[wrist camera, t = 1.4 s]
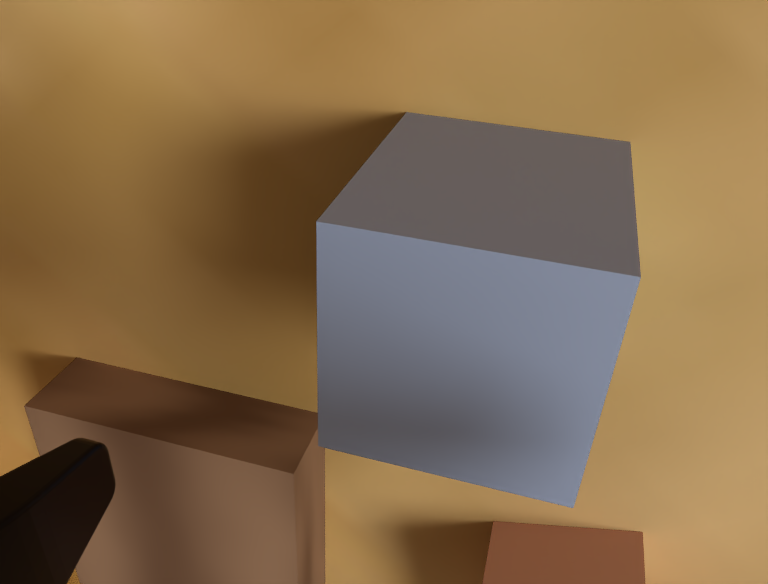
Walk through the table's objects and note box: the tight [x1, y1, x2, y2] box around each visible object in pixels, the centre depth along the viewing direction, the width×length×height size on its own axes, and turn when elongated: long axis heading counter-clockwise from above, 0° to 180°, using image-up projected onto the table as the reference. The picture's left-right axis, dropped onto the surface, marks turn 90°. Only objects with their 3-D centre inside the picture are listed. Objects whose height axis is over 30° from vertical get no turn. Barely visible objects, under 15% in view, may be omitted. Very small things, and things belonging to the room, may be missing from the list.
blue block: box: [316, 112, 641, 508], centre depth 14 cm, size 5×5×6 cm
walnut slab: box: [24, 358, 325, 584], centre depth 24 cm, size 9×9×3 cm
